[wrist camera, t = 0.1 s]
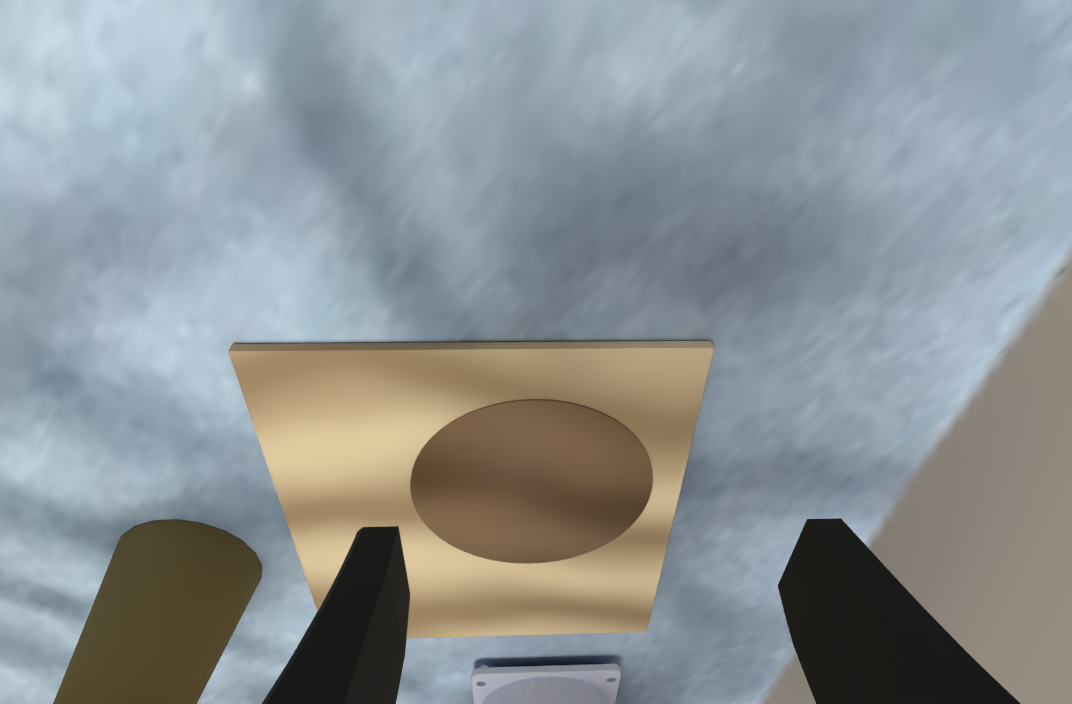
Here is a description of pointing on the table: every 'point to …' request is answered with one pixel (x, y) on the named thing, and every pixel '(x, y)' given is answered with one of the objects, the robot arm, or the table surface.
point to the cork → (161, 616)
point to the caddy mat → (485, 471)
